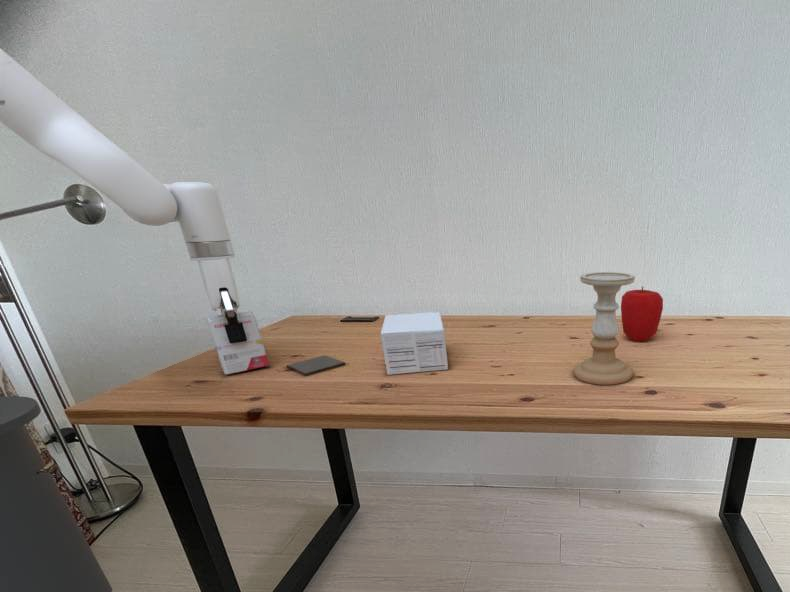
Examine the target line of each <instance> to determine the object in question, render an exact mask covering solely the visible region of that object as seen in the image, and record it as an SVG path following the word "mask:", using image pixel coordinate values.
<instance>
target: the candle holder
mask: <svg viewBox="0 0 790 592" xmlns="http://www.w3.org/2000/svg"><path fill="white" fill-rule="evenodd" d="M579 280H580V283H582V284H584V285H589V286H592V288H593V290H594V292H595V293H596V295H597V300H596V302H594V304H593V306H592V307H593V309H594V310H595V316H594V319H593V323H592V325H591V329H590V332H591V334H592V336H593V338H592V339H591V340H590V341H589V345H590V347H591V348H592V355H591V357H588V358H585V359H584V360H583V361H580V362H579V363H577V364H576V365H575V366H574V368H573V375H574V377H575V378H576V379H578V380H579V381H582V382H584V383H587V384H591V385H599V386H602V385H603V386H611V385H619V384H624V383H627V382H628V381H630V380H631V379H632V378H633V375H634V370H633V368H632V366H631V365H630V364H628V363H625V362H624V361H623V360H622V359H620V358H617V357H616V349H617V348H618V347H619V345H620V342H619V340H617V338H616V337H617V336H618V335H619V332H620V329H619V324H618V321H617V313H616V312H617V310H618V309H619V308H620V305H619V303H618V302H617V300H616V296H617V293H618V292H619V291H620V290H621V288H622V287H623V286H628V285H631V284H633V283H635V281H636V276H635V275H633V274H631V273H626V272H617V271H615V272H614V271H613V272H612V271H611V272H610V271H600V272H599V271H598V272H587V273H583V274H581V275H580V276H579Z"/></svg>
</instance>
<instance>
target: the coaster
mask: <svg viewBox="0 0 790 592" xmlns="http://www.w3.org/2000/svg"><path fill="white" fill-rule="evenodd" d="M345 365H346V363H345V362H344V361H342V360H339V359H336V358H335V357H331V356H328V355H325V354H324V355H320V356H317V357H312V358H309V359H305V360H301V361H297V362H294V363H293V362H292V363H289V364H286V368H287V369H289V370H291V371H294V372H296V373H299V374H301V375H303V376H306V377H308V376H311V375H314V374H318V373H321V372H325V371H328V370H329V371H330V370H332V369H336V368H339V367H342V366H345Z"/></svg>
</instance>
